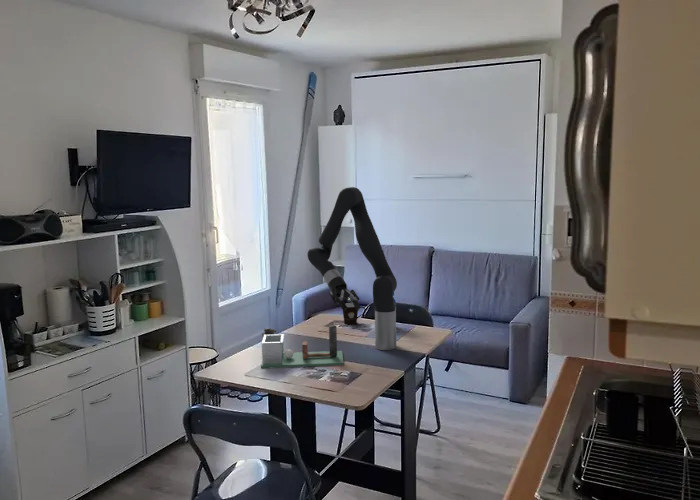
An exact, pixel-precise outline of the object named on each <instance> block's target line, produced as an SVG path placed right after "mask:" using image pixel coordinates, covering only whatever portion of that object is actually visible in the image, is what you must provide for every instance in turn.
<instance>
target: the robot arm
mask: <svg viewBox="0 0 700 500" xmlns="http://www.w3.org/2000/svg"><path fill="white" fill-rule="evenodd" d="M349 211H350V213H351V215H352V218H353V222H354V231H355V238H356V243H357V244H358V246H359V249H360V251H361V253H362V255H363V256H364V258H365V259H366V260H367V262H369V263H370V265H371V267H372V269H373V271H374V274H375V277H376V278H375V279H374V281H373V283H372V300H373V301H372V302H373V303H372V304H373V306H374V344H375V349H377V350H381V351H389V350H390V351H391V350H396V349H397V324H396V325H395V306H396V304H394V302H393V297H394V296H393V292H394V293H395V291H396V289H397V287H398V281H397V279H396V276H395V274H394V273H393V271H392V269H391V267H390V265H389V263H388V261H387V258H386V255H385V252H384V250H383V247H382V244H381V242H380V239H379V236H378V234H377V232H376V230H375V227H374V225H373V222H372V220H371V217H370V216H369V213H368V210H367V206H366V202H365V200H364V196H363V193H362V191H361V190H360V189H359V188H357V187H355V186H352V187H351V186H350V187H349V186H348V187H345V188H342V189H341V190H340V191H339V193H338V196H337V199H336V201H335V204H334V207H333V210H332V212H331V215H330V216H329V218H328V221H327V223H326V225H325V227H324V229H323V230H322V232H321V234H320V236H319V238H318V243H319V244H320V245H321V247H315V246H314V247H311V248H309V249H308V251H307V260H308V261H309V262H310V264H311V265H312V266H313V267H314V268H315V269H316V270H318V272H319V274H321V276H322V278H323V280H324V282H325V283H326V285H327V287H328V288H329V290H330V291H329V293H328V294H329V296H330V297H331V300H332V302H333V303H334V304H338V305H339V306H340V308H341V309H342V311H343V310H346V309H347V306H346V303H345V302H344V300H345V301H347V302H348V303H353V305H354V306H355V308H356V310H358V311H360V309H361V308H360V307H361V305H360V303H359V302H358V301H359V300H360V297H359V296H358V294H357V293H356V291H355V290H354V289H351V290H349V289H348V287H347V286H348V285H347V283H346V281H345V280H344V278H343V277H342V275H341V273H340V272H339V271H338V269H337V268H336V266H335V265H334V263H333V262H332V261H330V260H329V259H330V257H331V254H332V249H333V245H334V244H335V242H336V241H337V238H338V236H339V235H340V232H341V228H342V226H343V225H342V224H343V222H344V220H345V217H346V216H347V214H348V213H349Z"/></svg>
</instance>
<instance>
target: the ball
mask: <svg viewBox="0 0 700 500" xmlns="http://www.w3.org/2000/svg"><path fill="white" fill-rule="evenodd" d="M293 353H294V352H293V350H292V349H289V348H288V349H285V350H284V357H285V358H287V359H290V358H292V357H293Z"/></svg>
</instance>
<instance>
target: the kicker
mask: <svg viewBox="0 0 700 500" xmlns="http://www.w3.org/2000/svg"><path fill="white" fill-rule="evenodd" d="M337 327H338V326H337V325H333V324H331V325H328V339H329V340H328V342H329V343H328V345H329V346H328V347H329V350H328V351H330V353H308V352H309V351H308V341H307V340H306V341H305V340H304V341H302V346H301V348H302V349H301V350H302V351H301V352H303V359H307V358H308V357H336V356H337V351H338V340H337V337H338V335H337V334H338V333H337V329H338V328H337Z"/></svg>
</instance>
